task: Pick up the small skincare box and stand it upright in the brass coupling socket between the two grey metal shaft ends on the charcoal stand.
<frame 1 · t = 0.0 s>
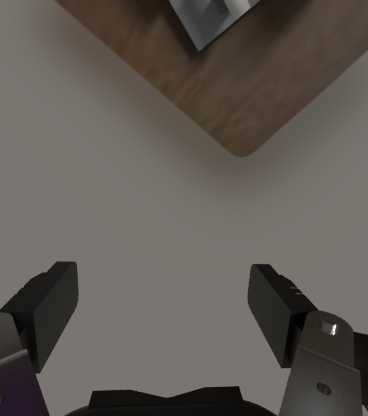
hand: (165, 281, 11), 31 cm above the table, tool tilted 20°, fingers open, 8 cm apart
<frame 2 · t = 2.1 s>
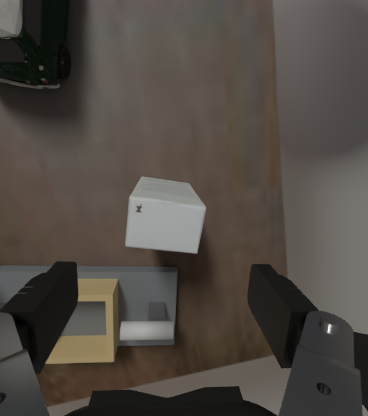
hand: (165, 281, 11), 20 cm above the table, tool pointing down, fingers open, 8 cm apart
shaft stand: (85, 303, 33), on the table
skincare box: (163, 196, 31), on the table
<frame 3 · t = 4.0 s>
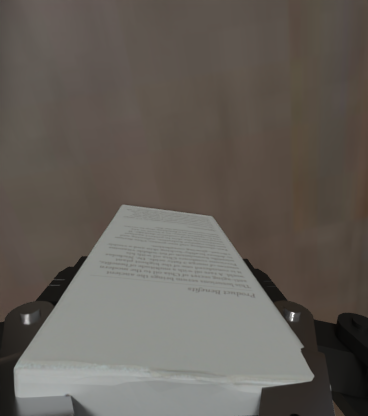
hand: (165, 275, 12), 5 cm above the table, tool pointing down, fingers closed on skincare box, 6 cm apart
skincare box: (165, 239, 17), on the table, touching gripper
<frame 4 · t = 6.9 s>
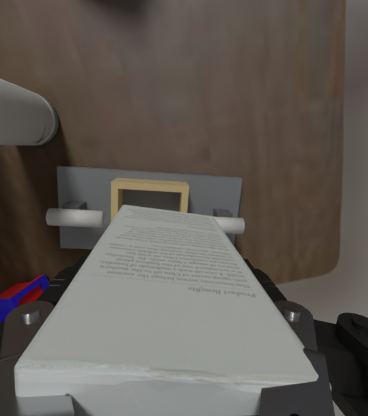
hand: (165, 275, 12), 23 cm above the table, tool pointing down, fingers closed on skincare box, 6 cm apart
travel mug: (35, 120, 32), on the table
toy building block: (32, 289, 37), on the table
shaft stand: (151, 210, 35), on the table
skincare box: (165, 238, 17), point 19 cm above the table, touching gripper
when the fingers open (7 cm above the table, at t = 9.8 s): skincare box stays where it is, resting on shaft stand.
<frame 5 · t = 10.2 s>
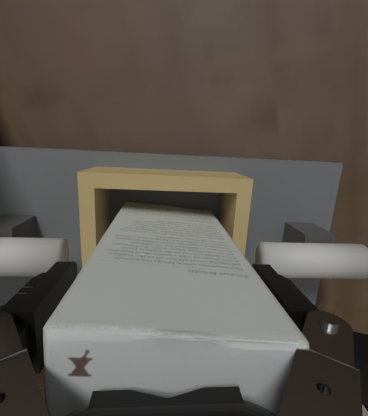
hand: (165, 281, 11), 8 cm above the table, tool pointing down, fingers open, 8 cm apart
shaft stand: (165, 228, 19), on the table
skincare box: (166, 233, 18), point 1 cm above the table, touching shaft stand
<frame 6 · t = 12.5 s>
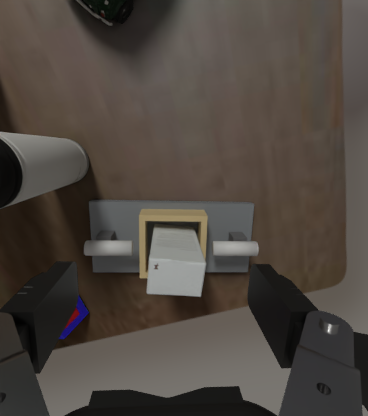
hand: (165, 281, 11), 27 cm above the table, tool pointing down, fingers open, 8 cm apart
travel mug: (68, 161, 36), on the table
toy building block: (67, 309, 41), on the table
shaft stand: (172, 235, 39), on the table
skincare box: (173, 237, 38), point 1 cm above the table, touching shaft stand
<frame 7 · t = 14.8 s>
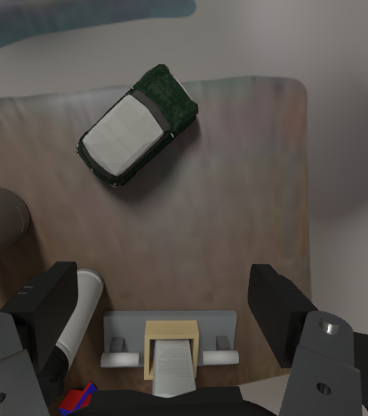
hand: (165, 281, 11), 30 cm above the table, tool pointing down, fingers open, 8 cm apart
travel mug: (87, 283, 44), on the table
miniature car: (139, 130, 39), on the table
toy building block: (82, 391, 49), on the table
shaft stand: (170, 335, 48), on the table
skincare box: (171, 340, 46), point 1 cm above the table, touching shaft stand
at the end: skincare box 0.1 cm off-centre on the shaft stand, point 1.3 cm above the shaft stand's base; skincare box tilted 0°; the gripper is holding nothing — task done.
